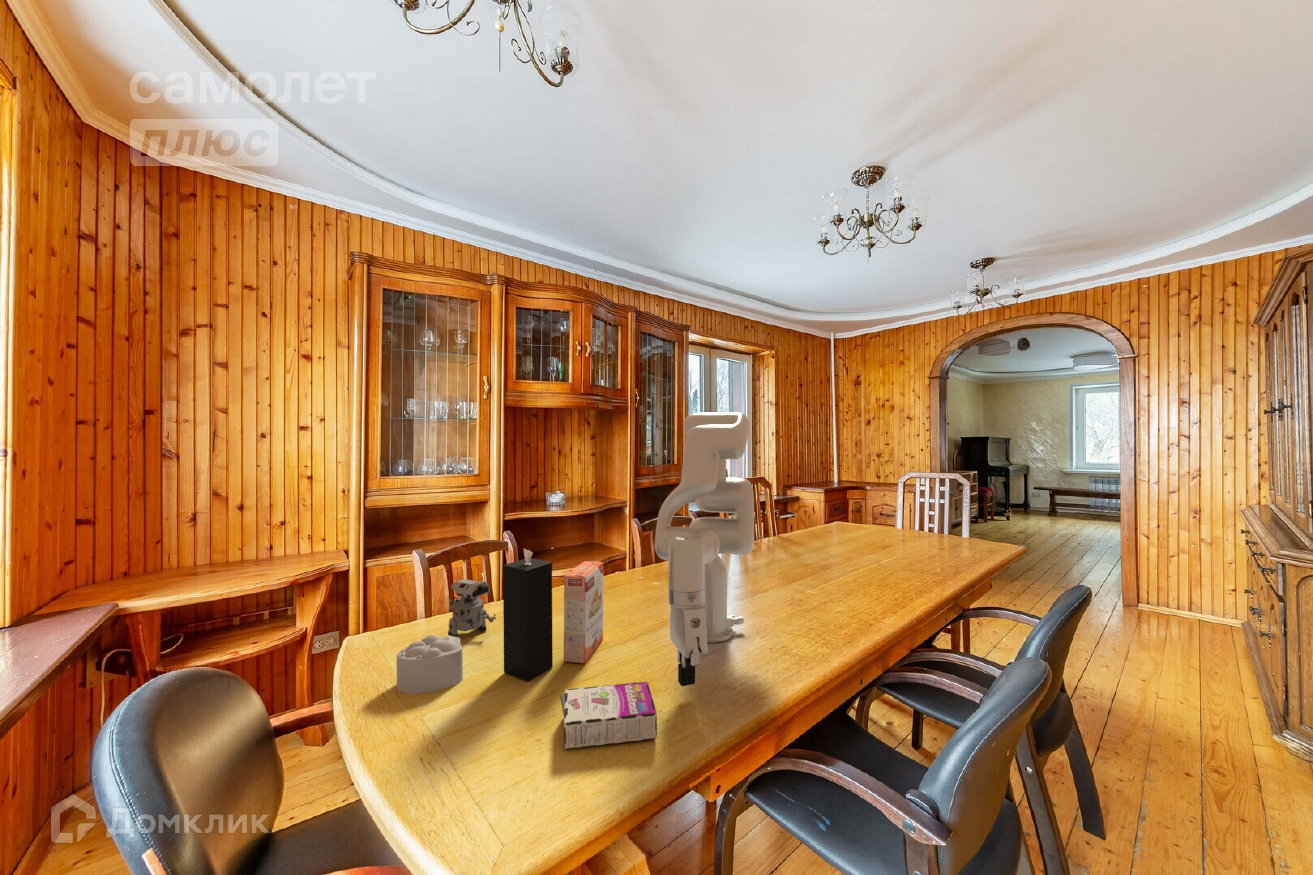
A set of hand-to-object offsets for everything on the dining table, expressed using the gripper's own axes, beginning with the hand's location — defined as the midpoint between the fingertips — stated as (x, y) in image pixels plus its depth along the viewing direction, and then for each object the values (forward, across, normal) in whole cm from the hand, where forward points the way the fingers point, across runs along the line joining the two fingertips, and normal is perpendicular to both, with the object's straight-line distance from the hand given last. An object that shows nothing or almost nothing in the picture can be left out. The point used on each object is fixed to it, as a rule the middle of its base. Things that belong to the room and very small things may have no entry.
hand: (686, 683), depth 100 cm
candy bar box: (0, -7, +9) cm, 12 cm away
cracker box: (+3, +27, +17) cm, 32 cm away
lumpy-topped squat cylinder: (+3, +24, +52) cm, 57 cm away
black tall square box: (+3, +21, +31) cm, 38 cm away
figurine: (+3, +46, +45) cm, 64 cm away
